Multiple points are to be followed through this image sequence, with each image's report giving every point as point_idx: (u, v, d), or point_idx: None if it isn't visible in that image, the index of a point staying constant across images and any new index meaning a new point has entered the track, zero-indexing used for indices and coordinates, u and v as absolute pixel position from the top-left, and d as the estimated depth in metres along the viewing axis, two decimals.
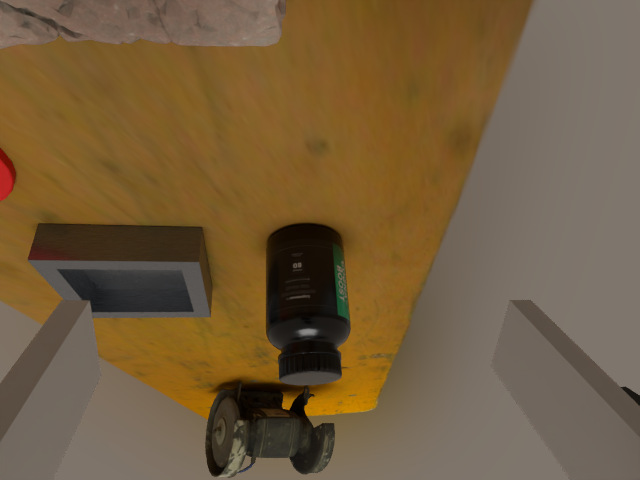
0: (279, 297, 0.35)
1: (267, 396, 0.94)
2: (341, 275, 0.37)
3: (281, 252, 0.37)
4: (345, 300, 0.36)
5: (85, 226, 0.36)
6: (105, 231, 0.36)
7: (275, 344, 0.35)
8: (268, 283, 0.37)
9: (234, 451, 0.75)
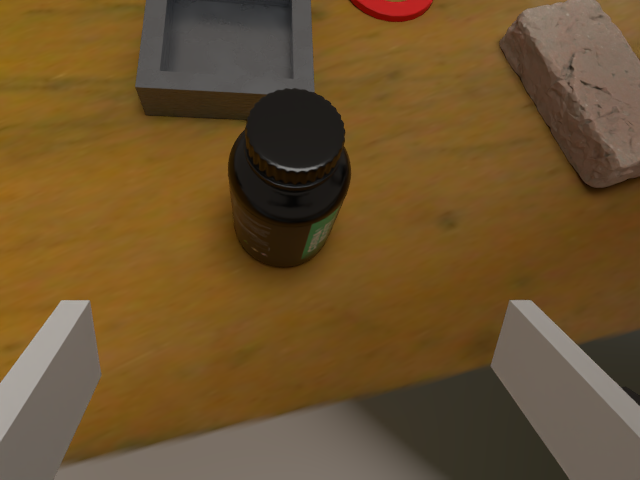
0: None
1: None
2: (320, 238, 0.28)
3: None
4: (321, 228, 0.26)
5: None
6: None
7: None
8: None
9: None
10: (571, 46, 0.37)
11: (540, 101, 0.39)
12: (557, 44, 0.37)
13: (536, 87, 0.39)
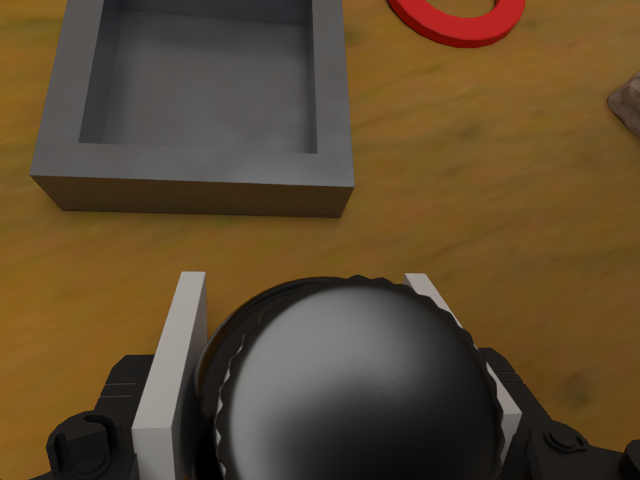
0: None
1: None
2: None
3: None
4: None
5: None
6: None
7: None
8: None
9: None
10: None
11: None
12: None
13: None
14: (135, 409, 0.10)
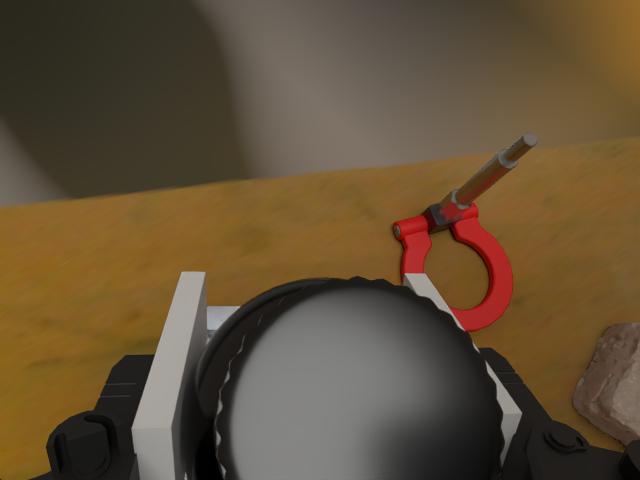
0: None
1: None
2: None
3: None
4: None
5: None
6: None
7: None
8: None
9: None
10: None
11: None
12: None
13: None
14: (134, 409, 0.10)
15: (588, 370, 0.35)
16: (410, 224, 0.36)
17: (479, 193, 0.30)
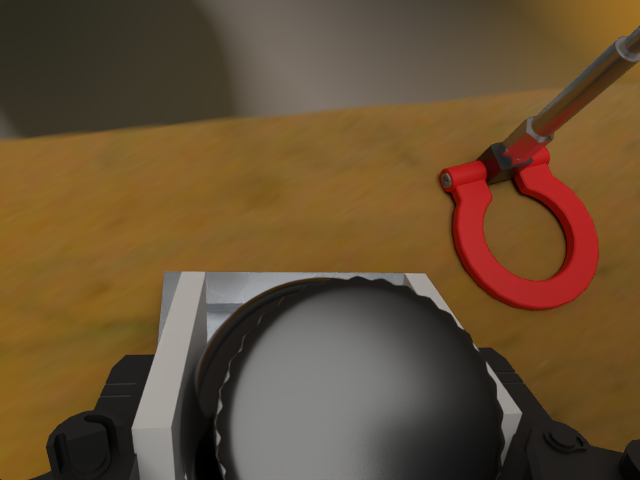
0: None
1: None
2: None
3: None
4: None
5: None
6: None
7: None
8: None
9: None
10: None
11: None
12: None
13: None
14: (134, 409, 0.10)
15: None
16: (464, 171, 0.27)
17: (572, 113, 0.22)
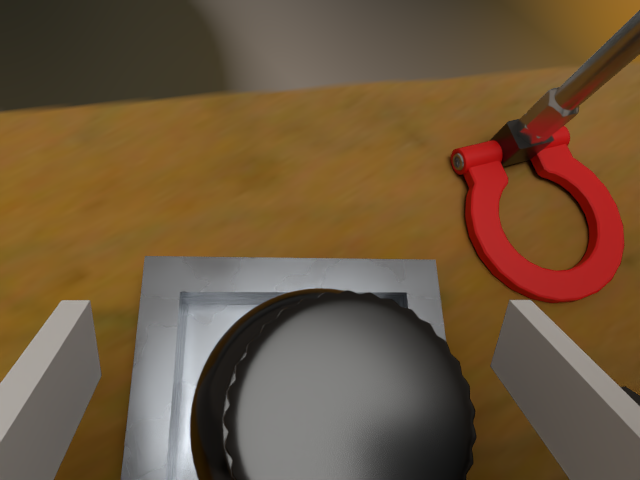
0: None
1: None
2: None
3: None
4: None
5: None
6: None
7: None
8: None
9: None
10: None
11: None
12: None
13: None
14: None
15: None
16: (478, 151, 0.25)
17: (603, 81, 0.19)
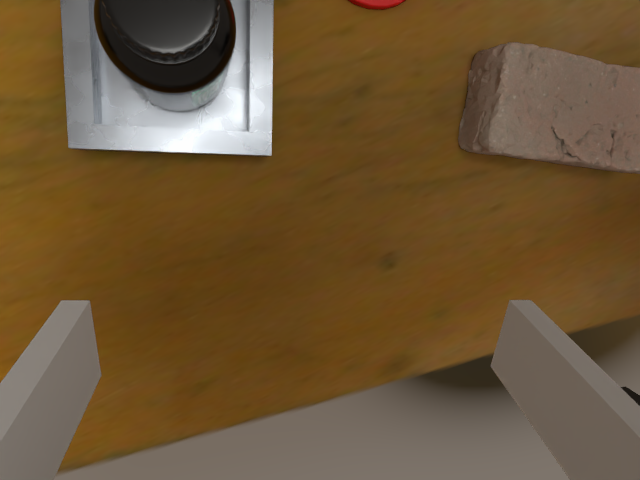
0: None
1: None
2: (209, 94, 0.27)
3: None
4: (206, 91, 0.25)
5: None
6: None
7: None
8: None
9: None
10: (545, 124, 0.35)
11: (538, 159, 0.39)
12: (535, 136, 0.35)
13: None
14: None
15: (465, 109, 0.37)
16: None
17: None
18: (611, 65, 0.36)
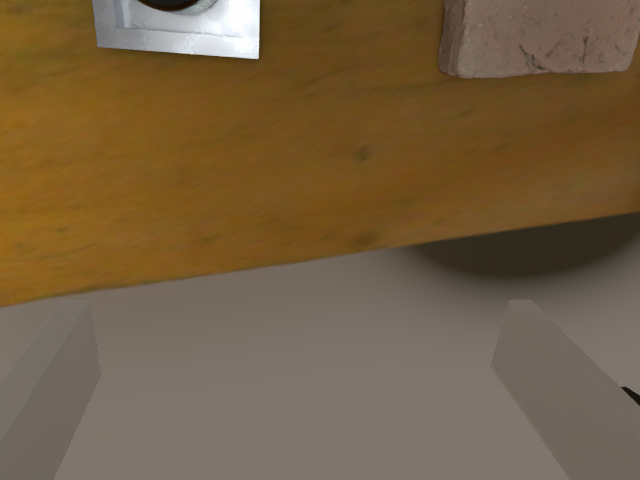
0: None
1: None
2: (203, 5, 0.33)
3: None
4: (197, 6, 0.32)
5: None
6: None
7: None
8: None
9: None
10: (512, 44, 0.38)
11: None
12: (503, 57, 0.39)
13: None
14: None
15: (443, 35, 0.41)
16: None
17: None
18: None
